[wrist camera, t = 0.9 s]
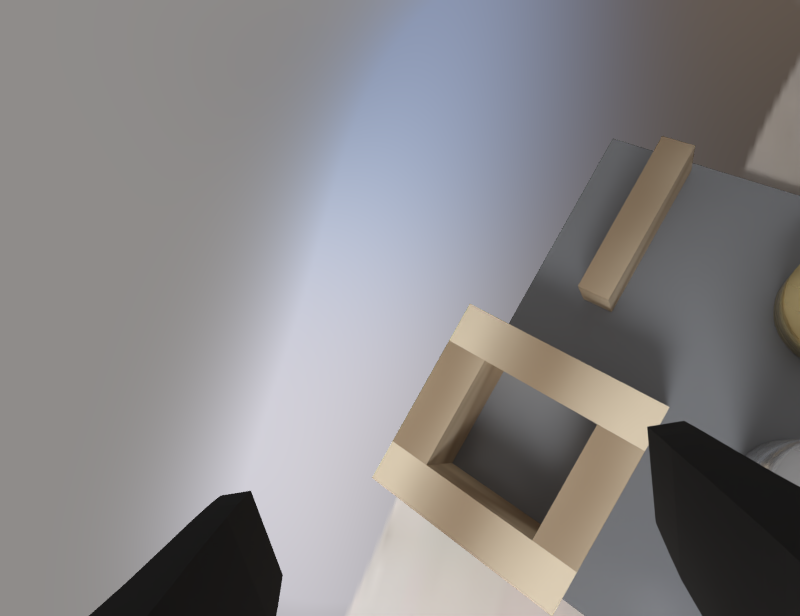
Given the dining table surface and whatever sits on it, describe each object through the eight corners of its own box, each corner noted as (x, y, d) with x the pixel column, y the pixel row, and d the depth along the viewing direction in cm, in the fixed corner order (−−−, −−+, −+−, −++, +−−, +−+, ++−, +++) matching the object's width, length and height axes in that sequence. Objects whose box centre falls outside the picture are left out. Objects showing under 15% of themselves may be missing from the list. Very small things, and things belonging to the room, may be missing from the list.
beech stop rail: (691, 170, 22) (695, 145, 20) (611, 312, 22) (608, 299, 20) (661, 160, 22) (662, 136, 20) (583, 299, 22) (577, 285, 20)
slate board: (1083, 290, 17) (1095, 286, 16) (809, 778, 17) (814, 787, 16) (613, 144, 24) (612, 138, 23) (419, 488, 24) (415, 489, 23)
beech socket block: (666, 412, 20) (669, 406, 17) (564, 594, 20) (552, 616, 17) (490, 319, 24) (469, 303, 21) (403, 474, 24) (372, 478, 21)
